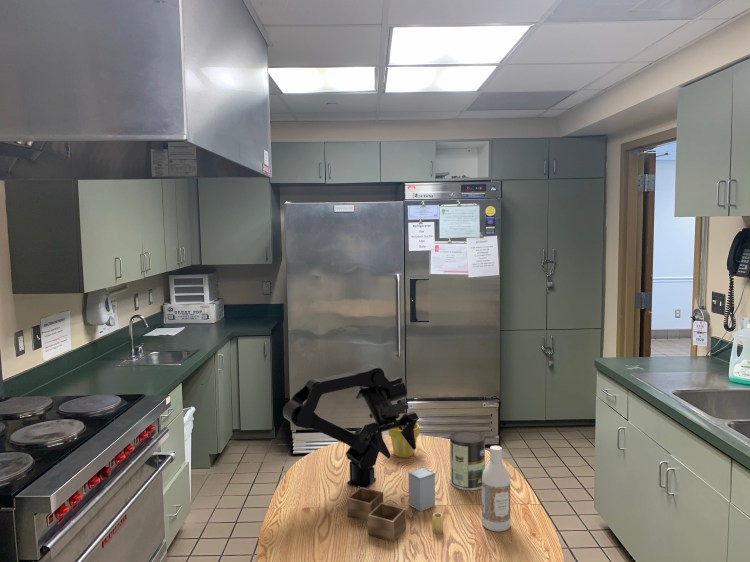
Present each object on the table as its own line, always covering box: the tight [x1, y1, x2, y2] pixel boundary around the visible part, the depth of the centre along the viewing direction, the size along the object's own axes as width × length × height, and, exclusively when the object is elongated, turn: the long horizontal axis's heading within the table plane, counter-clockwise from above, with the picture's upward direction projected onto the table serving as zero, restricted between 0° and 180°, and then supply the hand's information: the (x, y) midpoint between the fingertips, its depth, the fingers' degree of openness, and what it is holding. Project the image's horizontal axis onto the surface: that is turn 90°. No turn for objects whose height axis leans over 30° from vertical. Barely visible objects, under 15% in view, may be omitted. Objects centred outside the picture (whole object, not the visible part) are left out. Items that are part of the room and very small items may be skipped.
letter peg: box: [432, 512, 444, 534], centre depth 131 cm, size 2×2×4 cm
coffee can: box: [448, 429, 486, 491], centre depth 156 cm, size 10×10×14 cm
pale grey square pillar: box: [408, 467, 436, 512], centre depth 143 cm, size 5×5×9 cm
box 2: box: [367, 503, 407, 543], centre depth 131 cm, size 7×7×5 cm
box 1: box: [346, 487, 385, 523], centre depth 139 cm, size 7×7×5 cm
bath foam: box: [481, 445, 511, 532], centre depth 132 cm, size 7×7×20 cm
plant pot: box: [387, 423, 420, 458], centre depth 178 cm, size 10×10×10 cm
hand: (402, 453), depth 149 cm, fingers open, 9 cm apart
